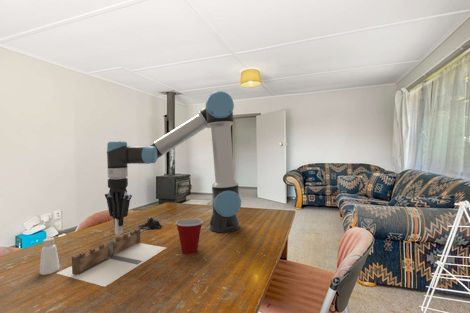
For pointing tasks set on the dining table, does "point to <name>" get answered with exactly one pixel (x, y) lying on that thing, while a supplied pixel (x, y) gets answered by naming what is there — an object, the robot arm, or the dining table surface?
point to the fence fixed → (88, 259)
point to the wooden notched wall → (123, 242)
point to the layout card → (115, 265)
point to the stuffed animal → (151, 225)
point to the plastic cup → (189, 234)
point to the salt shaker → (49, 257)
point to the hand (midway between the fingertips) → (118, 233)
